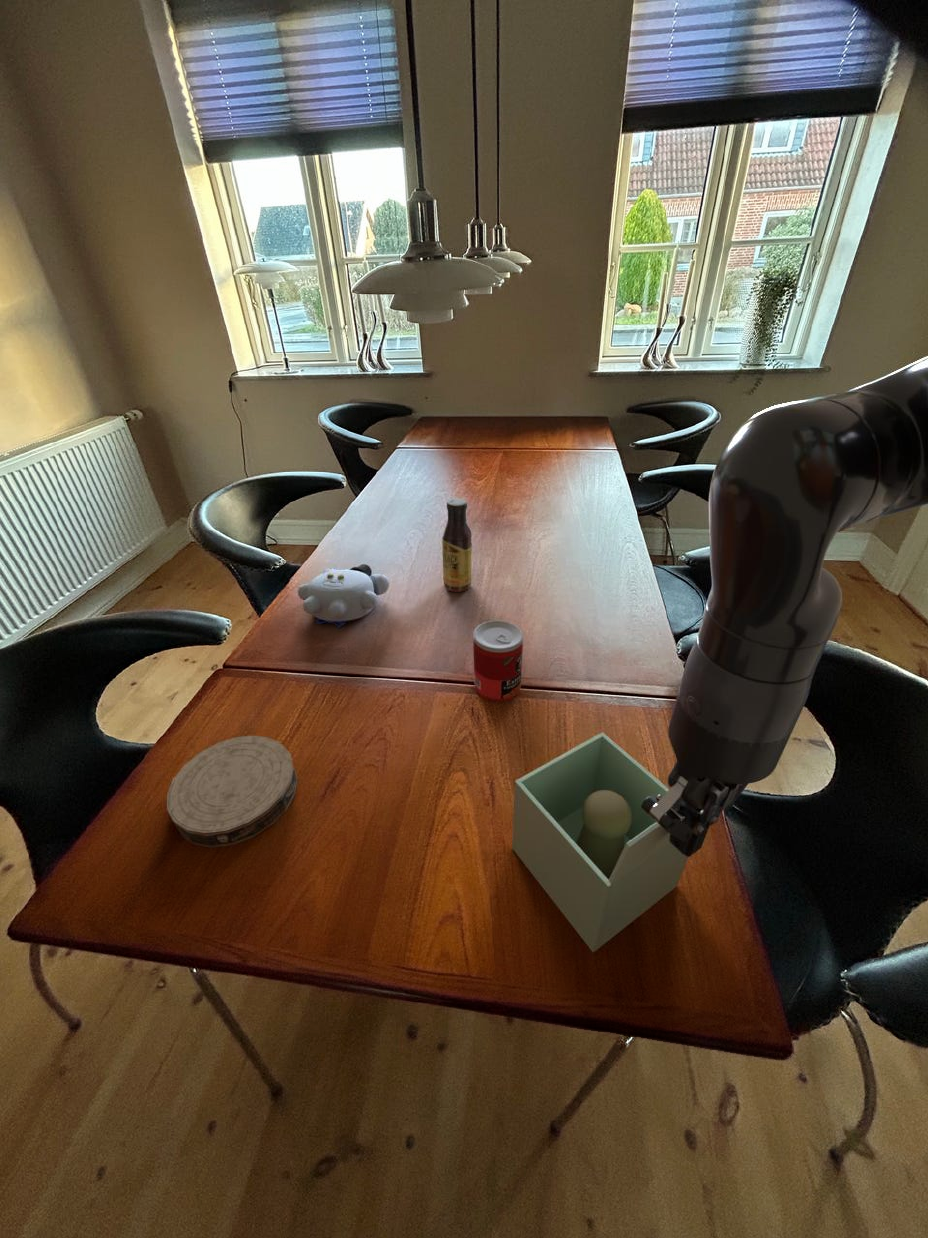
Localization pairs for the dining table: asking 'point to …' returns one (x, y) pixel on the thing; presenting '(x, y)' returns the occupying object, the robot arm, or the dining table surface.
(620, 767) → the carton
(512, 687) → the canned food
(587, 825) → the olive brown pawn
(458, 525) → the sauce bottle
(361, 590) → the figurine
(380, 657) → the dining table surface
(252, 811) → the grey flat disc
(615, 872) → the flap
